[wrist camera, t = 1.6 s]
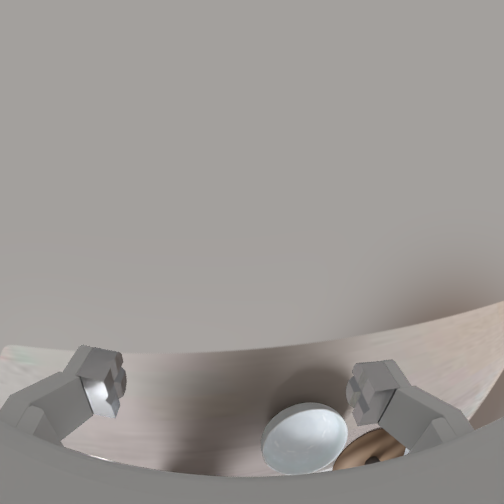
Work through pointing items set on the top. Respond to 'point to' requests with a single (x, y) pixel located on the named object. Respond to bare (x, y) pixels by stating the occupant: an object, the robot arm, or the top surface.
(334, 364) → the top surface
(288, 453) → the cereal bowl
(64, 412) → the robot arm
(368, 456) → the lid
